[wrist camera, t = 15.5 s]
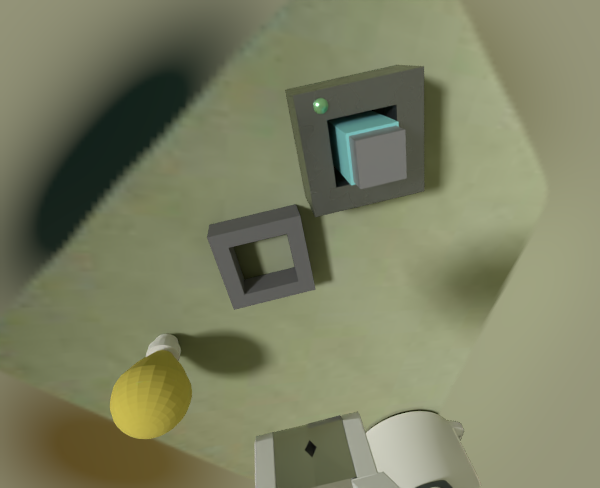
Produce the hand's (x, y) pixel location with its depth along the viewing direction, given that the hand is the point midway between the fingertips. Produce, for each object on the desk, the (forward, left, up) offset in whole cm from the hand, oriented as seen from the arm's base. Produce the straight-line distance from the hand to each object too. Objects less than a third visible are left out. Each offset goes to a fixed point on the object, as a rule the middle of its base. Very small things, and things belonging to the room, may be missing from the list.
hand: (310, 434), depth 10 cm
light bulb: (-15, +14, -23) cm, 31 cm away
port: (+2, -8, -23) cm, 24 cm away
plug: (+2, -8, -23) cm, 24 cm away
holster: (-7, +2, -23) cm, 24 cm away
